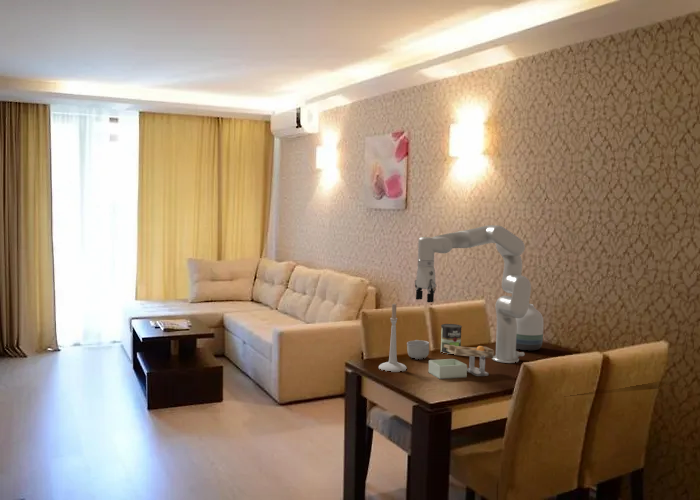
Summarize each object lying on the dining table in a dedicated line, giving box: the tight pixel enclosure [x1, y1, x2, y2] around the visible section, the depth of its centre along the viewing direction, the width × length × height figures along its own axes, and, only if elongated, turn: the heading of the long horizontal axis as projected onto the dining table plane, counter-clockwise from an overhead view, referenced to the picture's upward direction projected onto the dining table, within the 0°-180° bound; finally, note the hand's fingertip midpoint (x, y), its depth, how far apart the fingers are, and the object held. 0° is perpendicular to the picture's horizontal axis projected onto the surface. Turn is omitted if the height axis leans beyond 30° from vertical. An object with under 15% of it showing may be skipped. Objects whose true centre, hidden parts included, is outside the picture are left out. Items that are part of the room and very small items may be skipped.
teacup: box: [406, 339, 430, 360], centre depth 290 cm, size 14×11×8 cm
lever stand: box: [467, 355, 490, 377], centre depth 263 cm, size 6×11×9 cm, turn 17°
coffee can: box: [440, 323, 463, 355], centre depth 302 cm, size 10×10×14 cm
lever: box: [444, 344, 495, 359], centre depth 265 cm, size 19×15×4 cm
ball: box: [476, 345, 485, 351], centre depth 263 cm, size 4×4×4 cm
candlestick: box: [378, 303, 408, 373], centre depth 267 cm, size 13×13×30 cm
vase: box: [516, 303, 544, 352], centre depth 314 cm, size 17×17×24 cm
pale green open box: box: [428, 358, 468, 380], centre depth 259 cm, size 13×11×6 cm
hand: (424, 300), depth 272 cm, fingers open, 9 cm apart
